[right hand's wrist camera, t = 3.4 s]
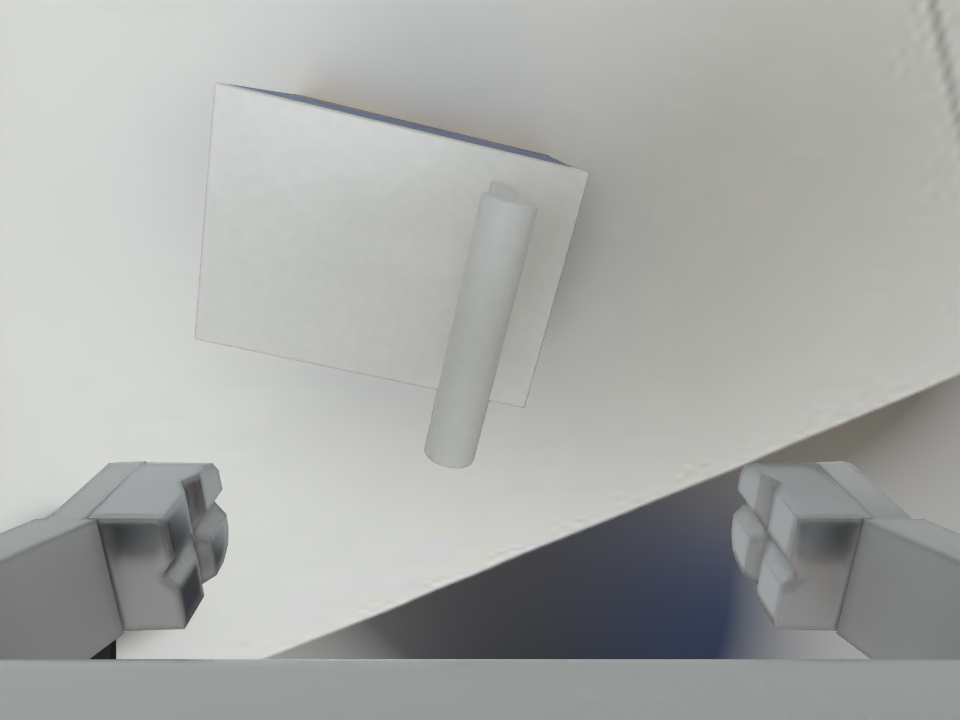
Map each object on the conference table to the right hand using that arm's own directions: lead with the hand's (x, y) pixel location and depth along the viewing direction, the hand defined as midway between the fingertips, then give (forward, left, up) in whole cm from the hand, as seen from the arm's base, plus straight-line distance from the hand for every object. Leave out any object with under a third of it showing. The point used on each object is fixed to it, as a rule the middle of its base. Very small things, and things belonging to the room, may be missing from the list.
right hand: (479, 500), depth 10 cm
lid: (+3, -2, -16) cm, 17 cm away
